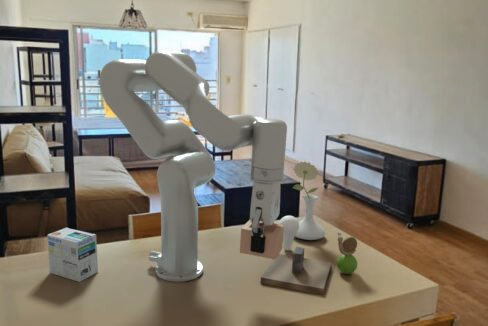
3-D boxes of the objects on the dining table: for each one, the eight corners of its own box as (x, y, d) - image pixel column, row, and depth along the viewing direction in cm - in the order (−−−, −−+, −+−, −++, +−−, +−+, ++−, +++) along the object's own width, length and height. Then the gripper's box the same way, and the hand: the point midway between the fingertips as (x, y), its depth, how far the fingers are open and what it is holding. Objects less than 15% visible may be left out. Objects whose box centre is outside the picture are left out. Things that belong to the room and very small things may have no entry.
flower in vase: (331, 237, 145) (337, 163, 140) (311, 246, 137) (317, 168, 132) (299, 226, 154) (304, 157, 149) (279, 234, 146) (283, 161, 141)
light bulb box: (98, 272, 115) (97, 233, 113) (79, 283, 109) (77, 242, 107) (68, 263, 119) (66, 226, 117) (48, 273, 113) (46, 234, 111)
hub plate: (260, 282, 112) (261, 257, 111) (275, 258, 127) (276, 235, 126) (322, 294, 108) (325, 268, 106) (330, 267, 123) (332, 244, 121)
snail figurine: (329, 270, 121) (332, 229, 118) (348, 267, 123) (352, 226, 121) (341, 279, 116) (344, 236, 113) (360, 275, 118) (364, 233, 116)
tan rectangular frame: (275, 259, 100) (277, 234, 98) (239, 252, 102) (241, 228, 101) (282, 248, 106) (284, 225, 105) (248, 242, 109) (249, 219, 107)
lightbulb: (298, 254, 130) (300, 219, 128) (278, 254, 130) (279, 219, 128) (296, 246, 136) (298, 213, 134) (276, 245, 136) (278, 212, 134)
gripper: (273, 184, 91) (267, 263, 95) (291, 167, 107) (285, 235, 111) (239, 179, 93) (234, 257, 97) (261, 163, 109) (256, 230, 113)
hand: (261, 245), depth 104 cm, fingers closed on tan rectangular frame, 6 cm apart
